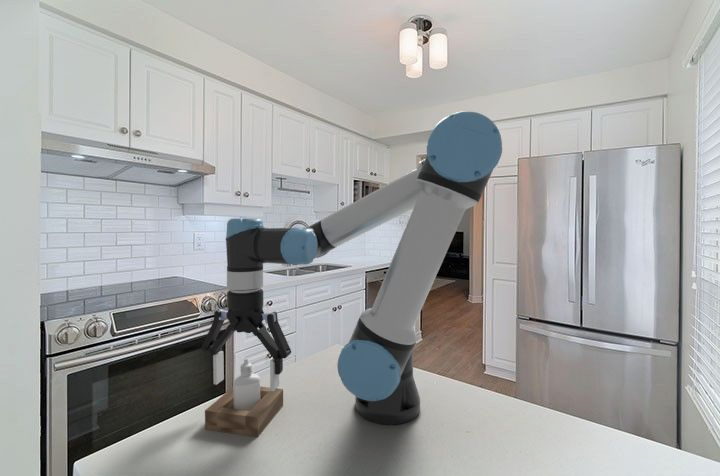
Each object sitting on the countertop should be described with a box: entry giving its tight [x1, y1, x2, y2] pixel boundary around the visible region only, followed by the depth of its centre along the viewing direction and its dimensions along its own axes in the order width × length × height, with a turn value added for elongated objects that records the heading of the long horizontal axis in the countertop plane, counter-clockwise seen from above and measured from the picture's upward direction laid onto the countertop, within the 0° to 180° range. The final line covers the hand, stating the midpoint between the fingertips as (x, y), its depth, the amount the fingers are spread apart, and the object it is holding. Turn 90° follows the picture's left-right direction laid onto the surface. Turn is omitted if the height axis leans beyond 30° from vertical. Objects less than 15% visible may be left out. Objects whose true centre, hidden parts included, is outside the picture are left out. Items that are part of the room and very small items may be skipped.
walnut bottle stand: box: [204, 386, 284, 437], centre depth 76 cm, size 12×12×4 cm
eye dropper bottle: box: [232, 357, 261, 411], centre depth 76 cm, size 4×6×12 cm
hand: (246, 385), depth 76 cm, fingers open, 13 cm apart
